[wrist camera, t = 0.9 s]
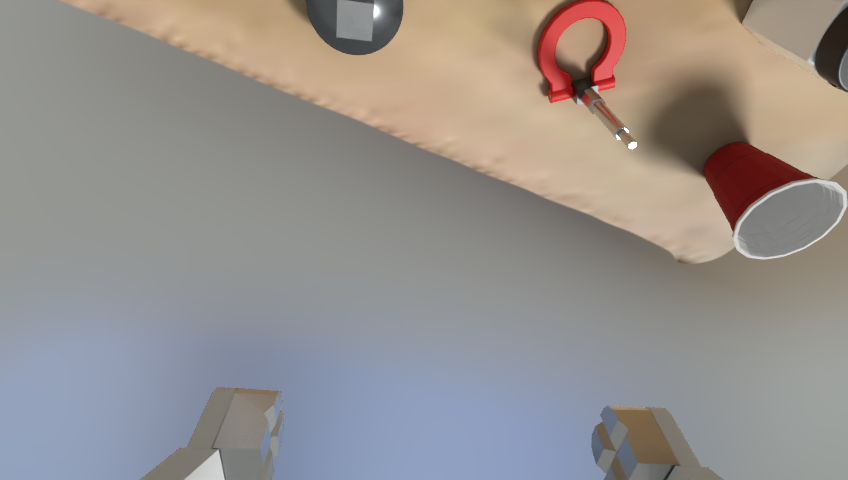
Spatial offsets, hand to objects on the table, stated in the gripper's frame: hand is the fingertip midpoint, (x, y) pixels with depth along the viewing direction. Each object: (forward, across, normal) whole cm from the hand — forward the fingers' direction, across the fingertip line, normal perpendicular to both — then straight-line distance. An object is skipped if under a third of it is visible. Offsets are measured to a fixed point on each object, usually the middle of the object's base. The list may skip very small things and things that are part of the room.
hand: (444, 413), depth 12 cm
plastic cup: (+45, -39, +8) cm, 60 cm away
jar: (+41, -35, -10) cm, 55 cm away
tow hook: (+41, -16, -4) cm, 44 cm away
